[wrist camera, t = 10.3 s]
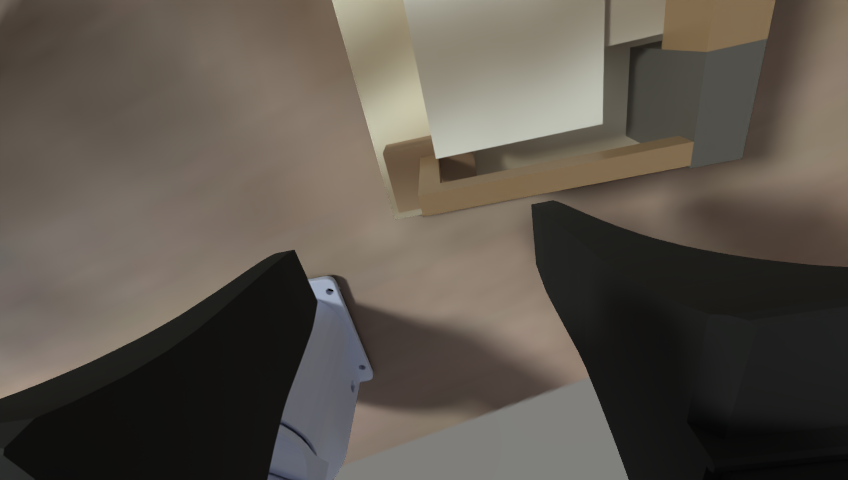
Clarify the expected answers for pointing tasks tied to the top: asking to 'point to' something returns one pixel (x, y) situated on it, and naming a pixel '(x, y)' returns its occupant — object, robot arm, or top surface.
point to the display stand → (491, 81)
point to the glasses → (650, 109)
